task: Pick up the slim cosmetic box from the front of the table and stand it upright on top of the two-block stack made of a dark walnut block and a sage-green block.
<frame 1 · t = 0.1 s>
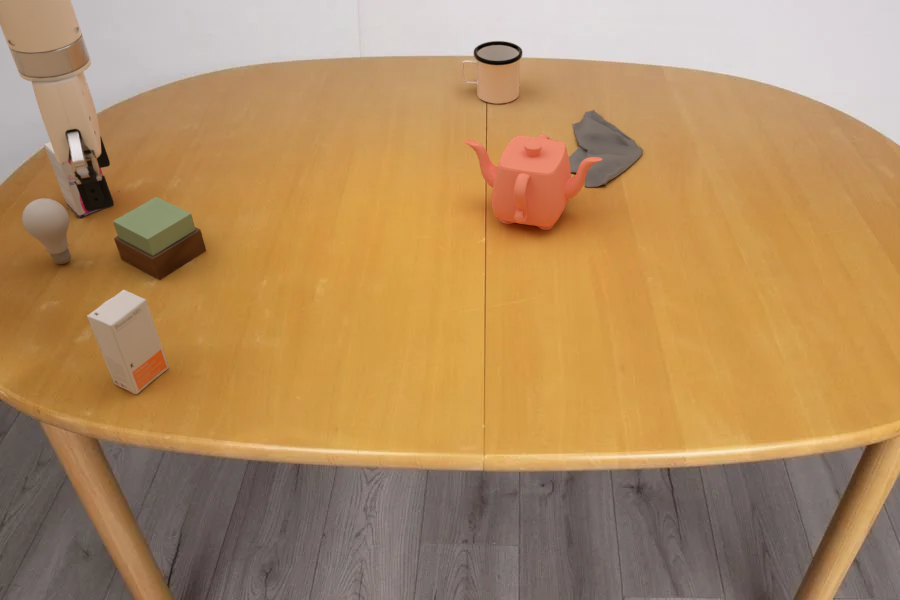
hand: (98, 186, 108), 22 cm above the table, tool pointing down, fingers open, 9 cm apart
mug: (491, 95, 174), on the table
cloth: (603, 150, 158), on the table
walnut block: (164, 254, 135), on the table, touching green block
green block: (157, 233, 132), point 4 cm above the table, touching walnut block
lightbulb: (64, 263, 133), on the table
supplement box: (90, 206, 145), on the table
cosmetic box: (143, 377, 115), on the table
teapot: (530, 212, 143), on the table
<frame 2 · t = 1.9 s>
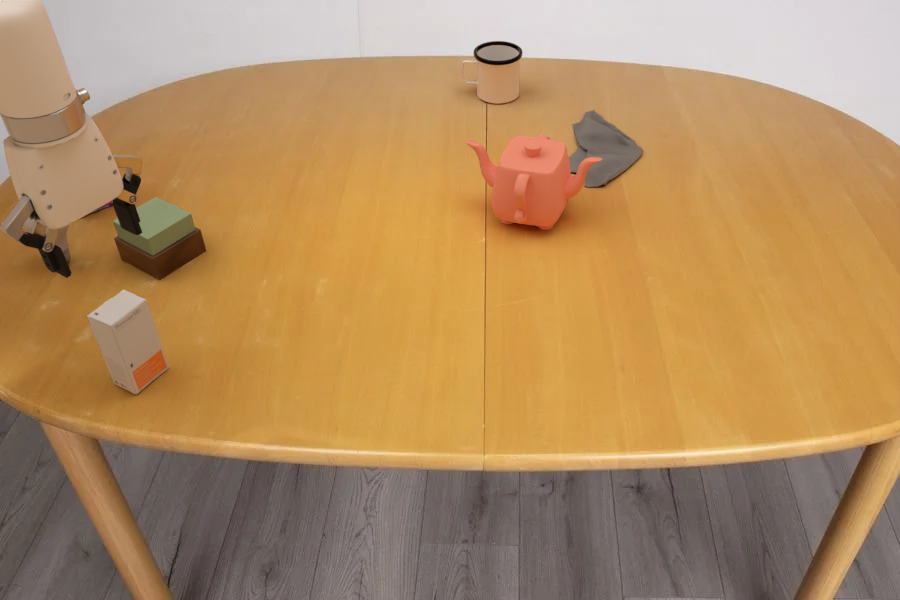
hand: (98, 251, 102), 20 cm above the table, tool pointing down, fingers open, 9 cm apart
nothing on the table moved.
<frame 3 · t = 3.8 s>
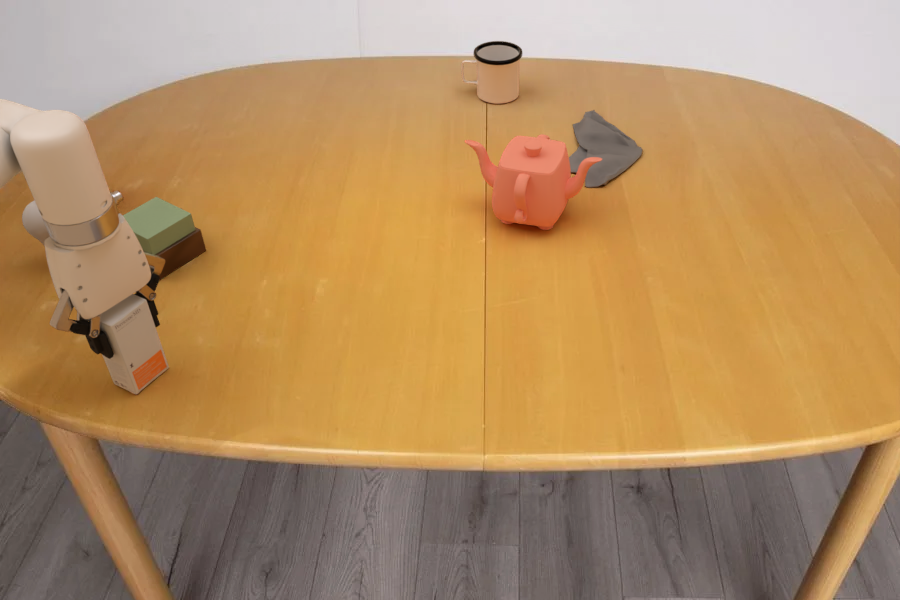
hand: (127, 336, 110), 7 cm above the table, tool pointing down, fingers closed on cosmetic box, 6 cm apart
cosmetic box: (143, 377, 115), on the table, touching gripper
everything else where it was.
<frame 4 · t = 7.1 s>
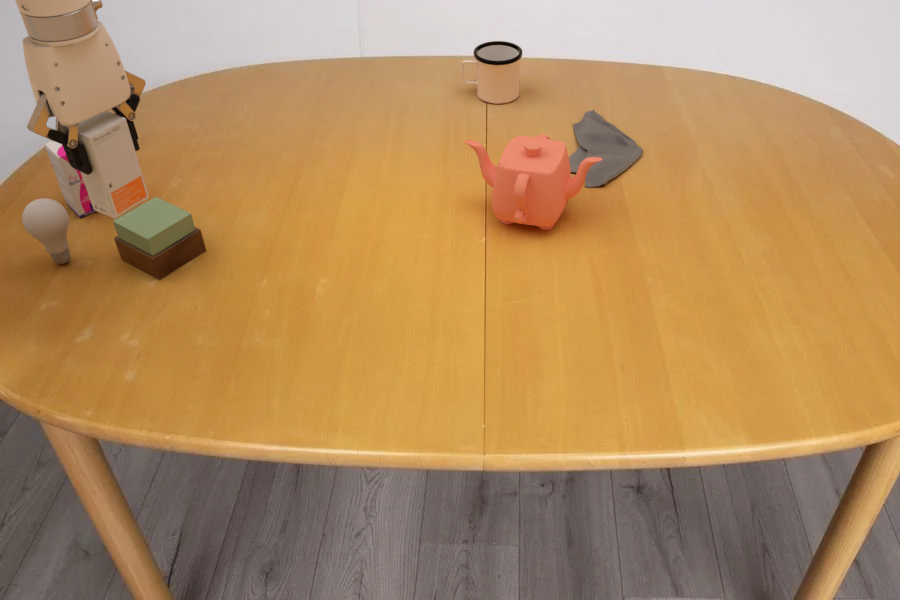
hand: (107, 157, 111), 23 cm above the table, tool pointing down, fingers closed on cosmetic box, 6 cm apart
cosmetic box: (123, 205, 116), point 16 cm above the table, touching gripper
everything else where it was.
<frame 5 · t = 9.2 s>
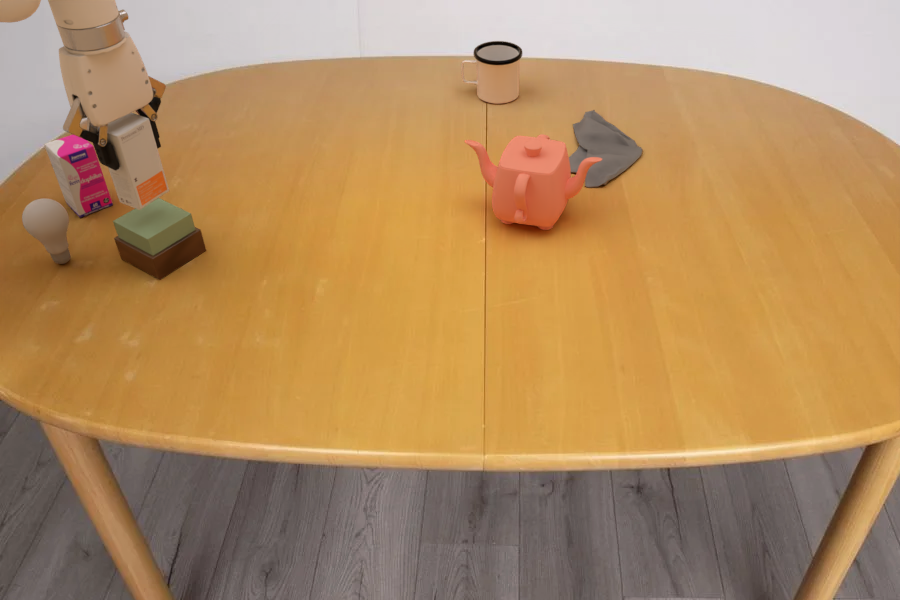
hand: (131, 154, 123), 18 cm above the table, tool pointing down, fingers closed on cosmetic box, 6 cm apart
cosmetic box: (146, 198, 128), point 10 cm above the table, touching gripper
everything else where it was.
when the fingers open (14 cm above the table, at t = 10.6 s): cosmetic box stays where it is, resting on green block.
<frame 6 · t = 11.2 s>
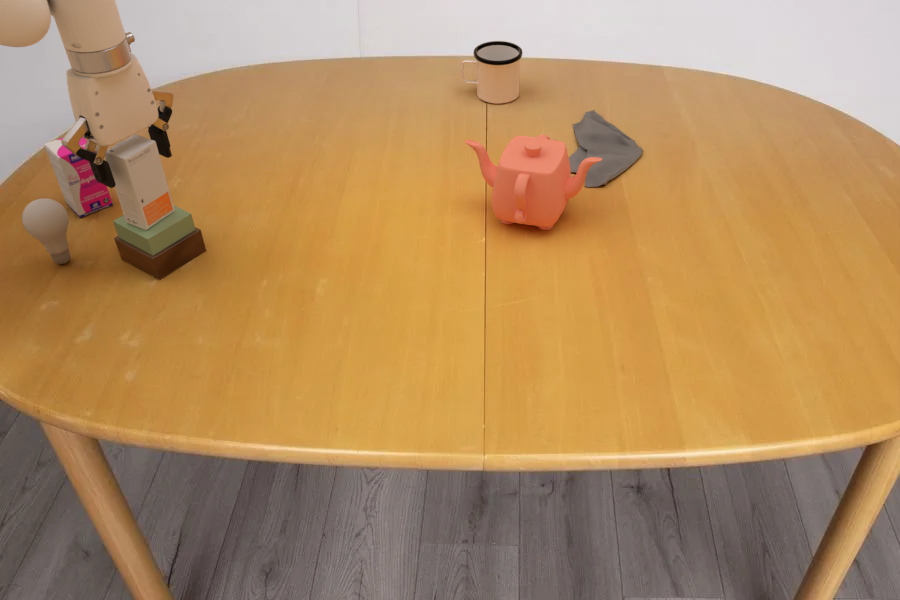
hand: (136, 169, 124), 15 cm above the table, tool pointing down, fingers open, 9 cm apart
green block: (157, 233, 132), point 4 cm above the table, touching cosmetic box, walnut block
cosmetic box: (152, 218, 130), point 7 cm above the table, touching green block
everything else where it was.
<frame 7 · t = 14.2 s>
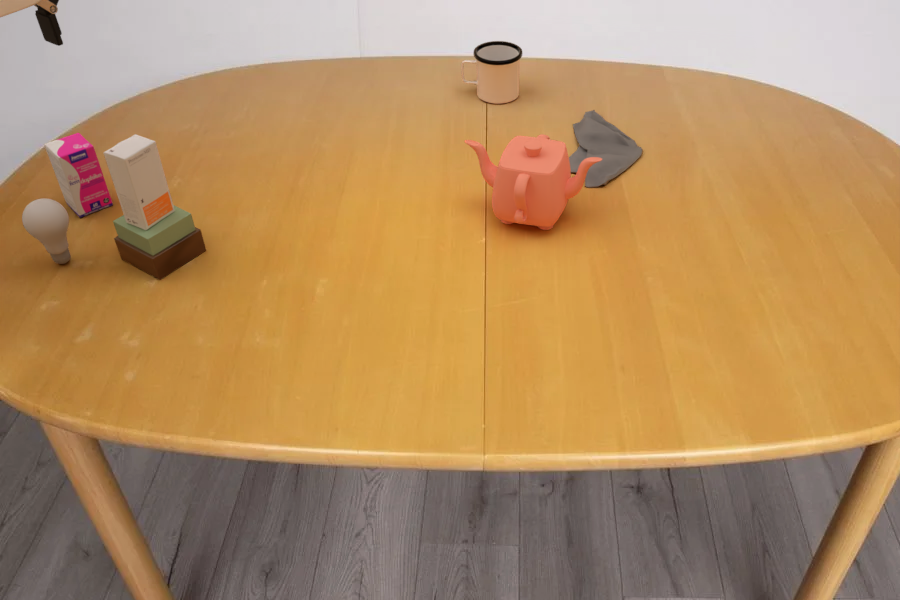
hand: (21, 56, 113), 32 cm above the table, tool pointing down, fingers open, 9 cm apart
nothing on the table moved.
at the end: cosmetic box 0.0 cm off-centre on the green block, point 2.8 cm above the green block's base; cosmetic box tilted 0°; green block 0.0 cm from the walnut block (horizontally) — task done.
